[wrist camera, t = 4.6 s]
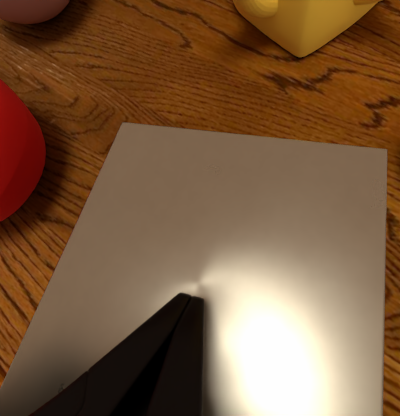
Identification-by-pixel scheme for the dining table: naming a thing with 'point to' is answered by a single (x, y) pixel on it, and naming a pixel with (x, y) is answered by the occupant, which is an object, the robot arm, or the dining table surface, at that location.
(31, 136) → the tomato
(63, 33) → the dining table surface
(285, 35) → the teapot
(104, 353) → the bin lid
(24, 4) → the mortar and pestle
